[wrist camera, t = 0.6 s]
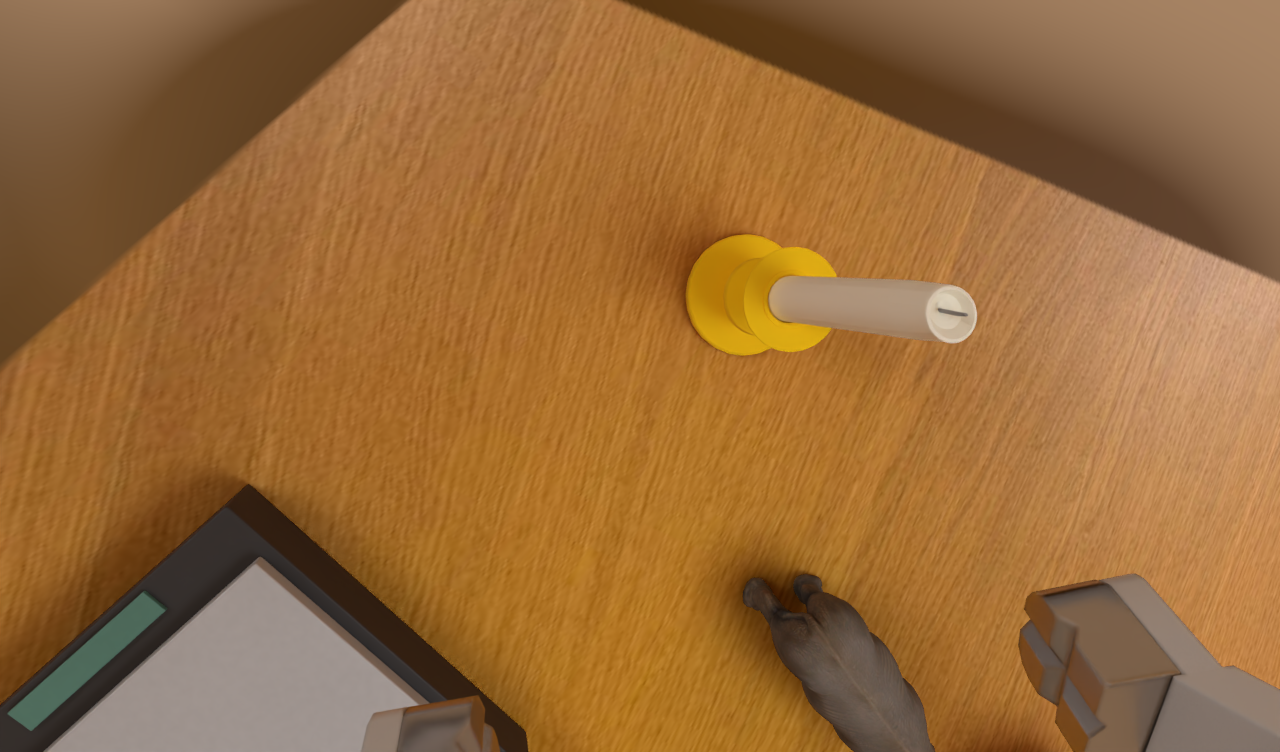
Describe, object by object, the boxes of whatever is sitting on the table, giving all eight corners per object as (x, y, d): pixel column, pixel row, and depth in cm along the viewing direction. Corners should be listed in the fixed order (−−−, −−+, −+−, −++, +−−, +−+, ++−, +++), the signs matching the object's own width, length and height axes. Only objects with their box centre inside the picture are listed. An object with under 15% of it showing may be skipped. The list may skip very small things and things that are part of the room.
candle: (686, 232, 33) (876, 201, 18) (800, 236, 34) (1069, 209, 19) (683, 354, 33) (862, 425, 18) (795, 354, 35) (1050, 419, 20)
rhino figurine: (878, 788, 39) (951, 879, 33) (724, 596, 35) (776, 661, 30) (938, 733, 39) (1021, 815, 33) (792, 539, 36) (856, 592, 30)
